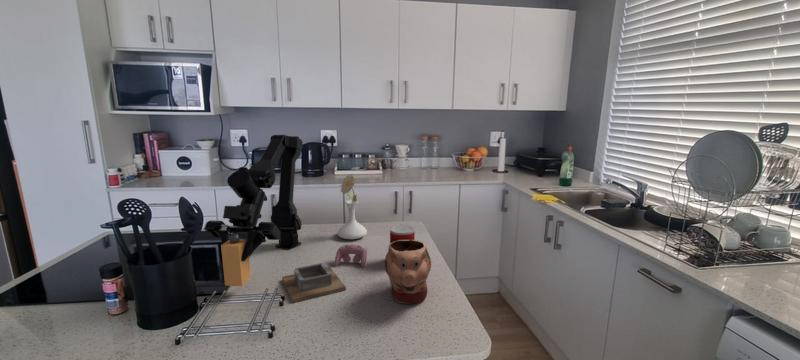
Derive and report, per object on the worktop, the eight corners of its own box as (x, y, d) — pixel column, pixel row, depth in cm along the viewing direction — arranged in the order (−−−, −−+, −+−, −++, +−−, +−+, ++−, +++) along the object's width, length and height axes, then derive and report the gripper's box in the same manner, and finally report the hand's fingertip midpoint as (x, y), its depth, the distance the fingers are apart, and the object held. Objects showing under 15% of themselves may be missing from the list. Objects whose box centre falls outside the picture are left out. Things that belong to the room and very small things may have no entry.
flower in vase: (336, 232, 142) (334, 170, 137) (364, 230, 145) (363, 169, 140) (338, 244, 130) (336, 176, 125) (370, 242, 132) (369, 175, 128)
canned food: (417, 258, 118) (417, 226, 116) (409, 268, 111) (410, 234, 109) (395, 255, 121) (395, 223, 119) (386, 264, 114) (386, 231, 111)
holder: (282, 280, 103) (281, 267, 102) (329, 270, 110) (329, 257, 109) (293, 303, 91) (292, 288, 90) (345, 290, 98) (345, 276, 97)
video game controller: (367, 267, 115) (368, 245, 117) (364, 267, 111) (366, 244, 112) (336, 266, 116) (338, 244, 118) (333, 265, 111) (335, 243, 113)
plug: (234, 277, 98) (230, 231, 95) (250, 278, 97) (246, 232, 95) (225, 285, 93) (220, 237, 90) (242, 286, 93) (237, 238, 90)
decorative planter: (381, 276, 105) (380, 231, 103) (422, 274, 107) (422, 229, 104) (389, 315, 86) (389, 260, 83) (439, 311, 88) (440, 257, 85)
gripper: (204, 191, 95) (181, 246, 86) (272, 192, 94) (256, 249, 85) (223, 211, 104) (204, 263, 96) (286, 213, 103) (272, 266, 94)
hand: (233, 260), depth 92 cm, fingers closed on plug, 5 cm apart
